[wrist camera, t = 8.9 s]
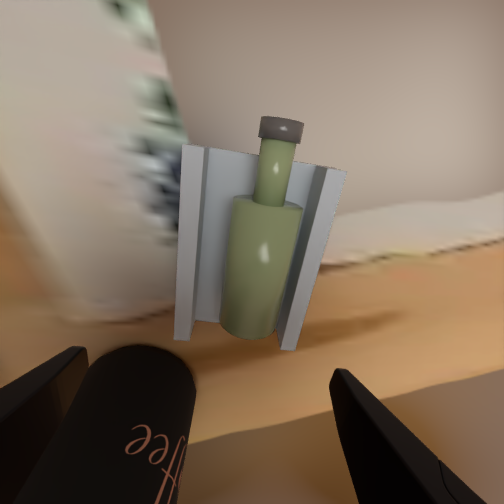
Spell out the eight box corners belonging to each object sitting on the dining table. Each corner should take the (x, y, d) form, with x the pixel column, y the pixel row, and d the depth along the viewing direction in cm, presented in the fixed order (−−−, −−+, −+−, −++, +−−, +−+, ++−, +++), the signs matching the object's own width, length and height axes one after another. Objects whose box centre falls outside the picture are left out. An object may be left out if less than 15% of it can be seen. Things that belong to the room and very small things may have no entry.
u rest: (289, 324, 23) (297, 351, 20) (180, 312, 22) (171, 339, 19) (331, 167, 18) (350, 172, 15) (190, 143, 17) (178, 143, 14)
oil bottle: (263, 300, 22) (286, 334, 18) (213, 304, 20) (227, 344, 16) (296, 128, 16) (339, 127, 13) (233, 114, 15) (261, 109, 11)
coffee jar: (201, 414, 28) (141, 814, 11) (102, 416, 27) (-114, 838, 11) (195, 339, 23) (83, 804, 7) (78, 340, 23) (-343, 842, 6)
